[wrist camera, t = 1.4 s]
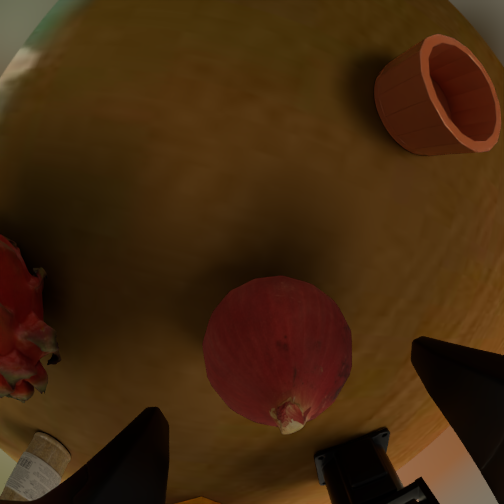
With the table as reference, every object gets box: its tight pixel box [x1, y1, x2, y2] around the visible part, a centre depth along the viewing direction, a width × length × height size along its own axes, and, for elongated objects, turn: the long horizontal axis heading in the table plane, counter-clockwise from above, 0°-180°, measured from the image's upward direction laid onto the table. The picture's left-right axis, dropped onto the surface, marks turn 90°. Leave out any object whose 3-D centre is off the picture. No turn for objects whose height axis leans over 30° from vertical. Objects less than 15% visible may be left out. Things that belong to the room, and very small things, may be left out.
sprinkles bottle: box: [0, 432, 71, 501], centre depth 10 cm, size 5×5×14 cm
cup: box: [374, 34, 501, 156], centre depth 10 cm, size 6×6×4 cm
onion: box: [202, 275, 352, 434], centre depth 10 cm, size 6×6×8 cm
